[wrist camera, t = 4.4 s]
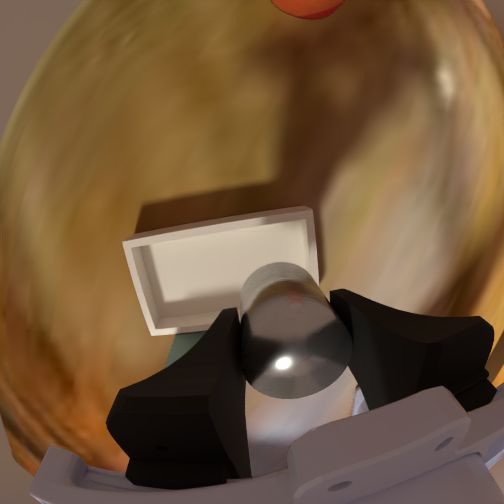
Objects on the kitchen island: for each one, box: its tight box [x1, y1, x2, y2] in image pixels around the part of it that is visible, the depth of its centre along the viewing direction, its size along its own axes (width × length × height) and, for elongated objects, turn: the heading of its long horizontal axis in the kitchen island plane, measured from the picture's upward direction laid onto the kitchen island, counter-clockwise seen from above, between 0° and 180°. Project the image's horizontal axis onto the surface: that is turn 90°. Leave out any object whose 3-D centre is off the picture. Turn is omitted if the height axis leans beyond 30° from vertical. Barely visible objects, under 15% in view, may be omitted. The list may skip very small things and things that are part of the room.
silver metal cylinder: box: [240, 262, 352, 399], centre depth 11 cm, size 4×4×5 cm
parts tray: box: [122, 205, 319, 336], centre depth 18 cm, size 12×7×2 cm, turn 98°
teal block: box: [164, 332, 206, 369], centre depth 19 cm, size 4×4×5 cm
